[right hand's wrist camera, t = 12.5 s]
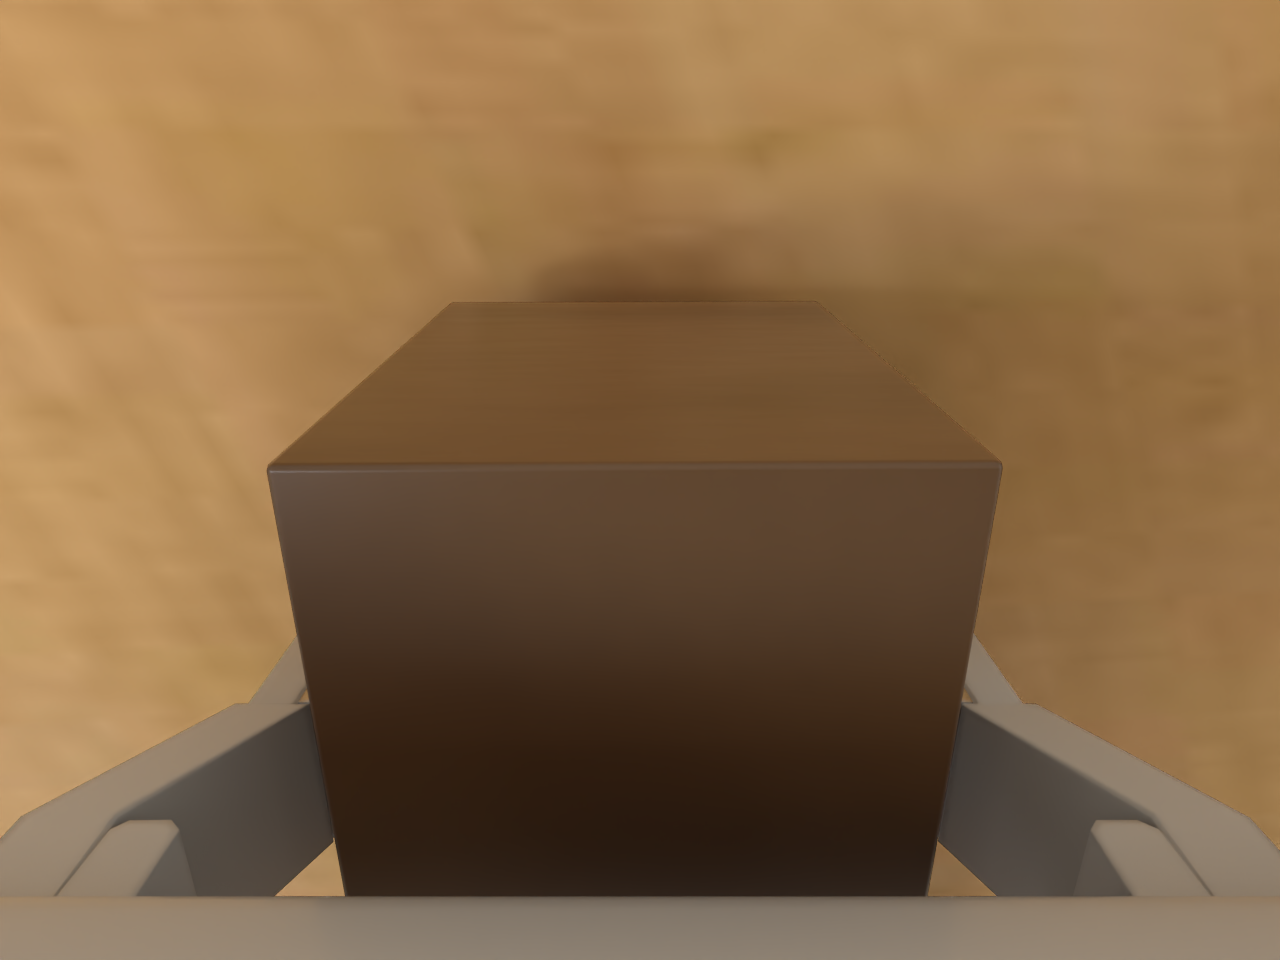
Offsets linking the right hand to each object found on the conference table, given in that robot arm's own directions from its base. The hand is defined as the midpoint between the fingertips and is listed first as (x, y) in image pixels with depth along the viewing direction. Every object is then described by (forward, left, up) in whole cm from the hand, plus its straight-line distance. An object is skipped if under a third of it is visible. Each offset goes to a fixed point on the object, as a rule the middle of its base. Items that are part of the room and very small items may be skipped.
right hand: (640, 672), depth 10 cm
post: (+24, -27, -3) cm, 36 cm away
